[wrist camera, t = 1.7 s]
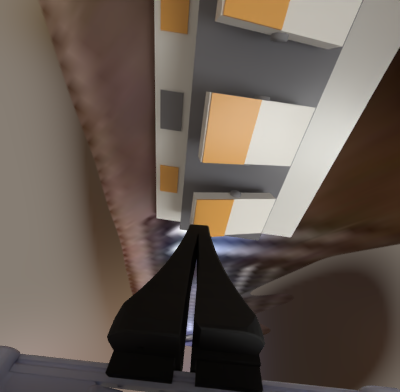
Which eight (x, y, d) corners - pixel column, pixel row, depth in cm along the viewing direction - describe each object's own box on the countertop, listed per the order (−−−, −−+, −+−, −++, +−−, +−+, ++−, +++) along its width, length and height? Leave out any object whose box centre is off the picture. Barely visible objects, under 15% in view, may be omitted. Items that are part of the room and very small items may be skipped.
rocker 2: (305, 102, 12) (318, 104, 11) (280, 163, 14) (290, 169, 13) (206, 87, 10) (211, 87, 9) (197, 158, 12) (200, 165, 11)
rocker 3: (270, 190, 15) (277, 197, 14) (255, 226, 18) (261, 235, 17) (193, 189, 14) (196, 197, 13) (188, 229, 16) (190, 239, 15)
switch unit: (467, -97, 10) (601, -195, 6) (287, 231, 24) (300, 255, 20) (157, -148, 10) (127, -277, 6) (158, 213, 23) (149, 234, 20)
